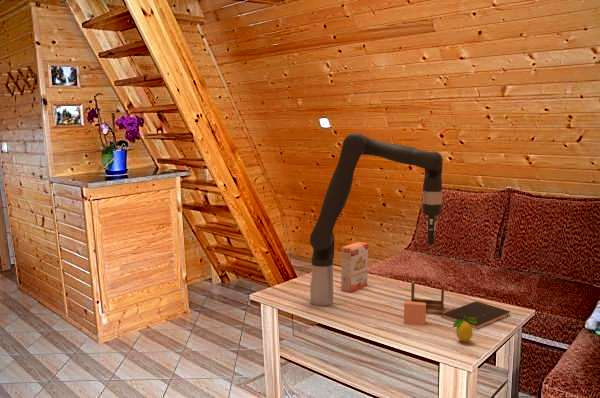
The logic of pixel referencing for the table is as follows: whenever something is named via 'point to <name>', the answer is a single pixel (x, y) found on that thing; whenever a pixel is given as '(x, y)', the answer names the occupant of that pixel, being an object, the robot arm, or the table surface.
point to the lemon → (464, 328)
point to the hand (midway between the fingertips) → (431, 242)
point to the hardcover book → (476, 313)
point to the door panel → (414, 313)
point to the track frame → (430, 302)
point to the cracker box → (354, 266)
